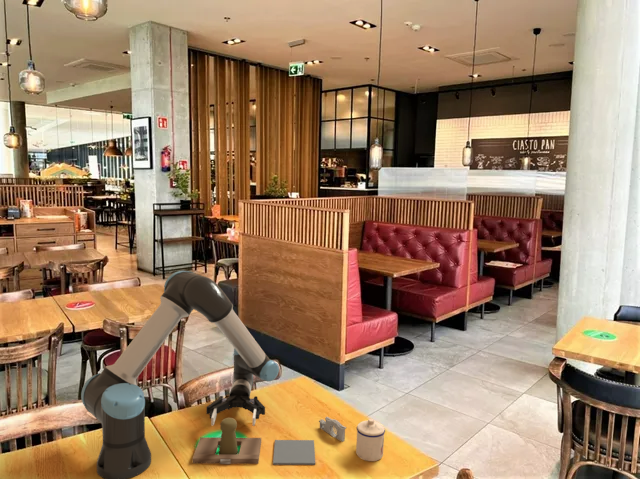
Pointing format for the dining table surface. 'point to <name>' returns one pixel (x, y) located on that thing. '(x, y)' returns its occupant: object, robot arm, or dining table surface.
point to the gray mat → (294, 452)
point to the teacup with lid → (370, 440)
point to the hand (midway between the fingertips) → (232, 421)
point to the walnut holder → (208, 455)
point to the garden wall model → (329, 429)
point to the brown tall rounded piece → (228, 437)
